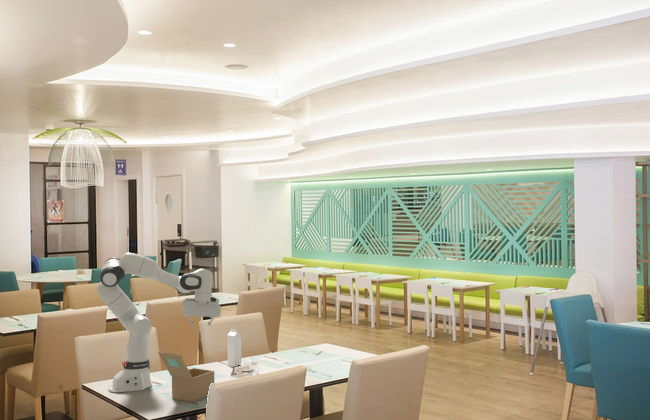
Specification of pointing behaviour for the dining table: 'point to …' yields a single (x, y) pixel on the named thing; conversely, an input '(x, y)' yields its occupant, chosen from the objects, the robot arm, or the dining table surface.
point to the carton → (192, 385)
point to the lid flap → (175, 365)
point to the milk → (234, 348)
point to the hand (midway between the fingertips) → (200, 325)
